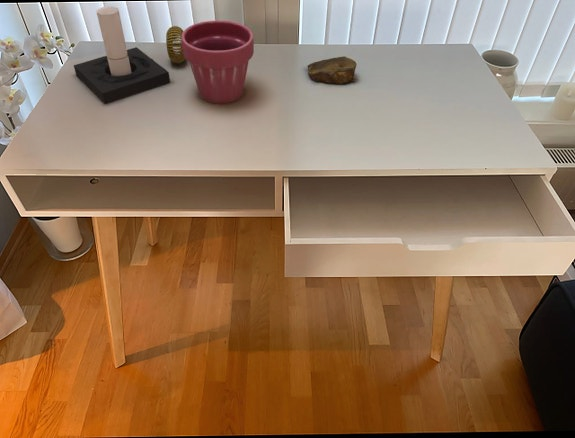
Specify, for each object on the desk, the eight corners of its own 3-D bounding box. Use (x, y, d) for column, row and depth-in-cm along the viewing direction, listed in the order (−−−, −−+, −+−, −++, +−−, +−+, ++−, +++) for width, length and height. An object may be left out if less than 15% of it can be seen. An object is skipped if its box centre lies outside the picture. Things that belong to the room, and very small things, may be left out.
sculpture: (171, 53, 121) (166, 20, 116) (188, 53, 122) (184, 20, 116) (168, 69, 116) (163, 35, 110) (186, 69, 116) (182, 35, 110)
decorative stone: (310, 86, 112) (311, 71, 109) (305, 65, 118) (305, 51, 116) (357, 84, 112) (359, 69, 110) (349, 64, 119) (351, 49, 117)
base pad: (105, 104, 105) (102, 93, 103) (76, 75, 113) (73, 65, 111) (170, 82, 112) (168, 71, 110) (138, 57, 120) (136, 47, 118)
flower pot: (266, 101, 107) (265, 41, 98) (203, 117, 102) (196, 56, 93) (238, 71, 116) (235, 14, 107) (179, 85, 111) (170, 26, 102)
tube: (123, 85, 110) (107, 16, 100) (108, 80, 112) (91, 11, 101) (136, 77, 113) (123, 9, 102) (122, 72, 114) (107, 4, 104)
